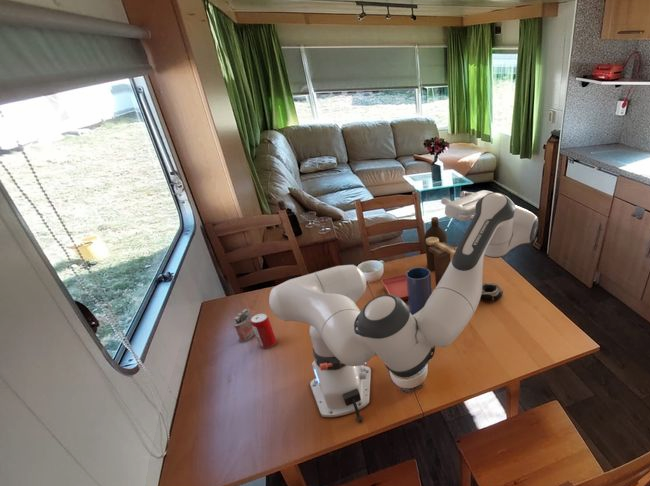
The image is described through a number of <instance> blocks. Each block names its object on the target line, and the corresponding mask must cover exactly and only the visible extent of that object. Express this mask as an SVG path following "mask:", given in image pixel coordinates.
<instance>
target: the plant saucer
mask: <svg viewBox="0 0 650 486" xmlns="http://www.w3.org/2000/svg"><path fill="white" fill-rule="evenodd" d="M381 283H382V285H383V286H384V289H385V290H386V292H387V295H396V296H398V297H399V298H400V299H402V300H403V301H406V300H408V292H407V282H406V273H404V274H399V275H394V276H390V277H386V278H382V279H381ZM431 291H433V288H432V287H431Z"/></svg>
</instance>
